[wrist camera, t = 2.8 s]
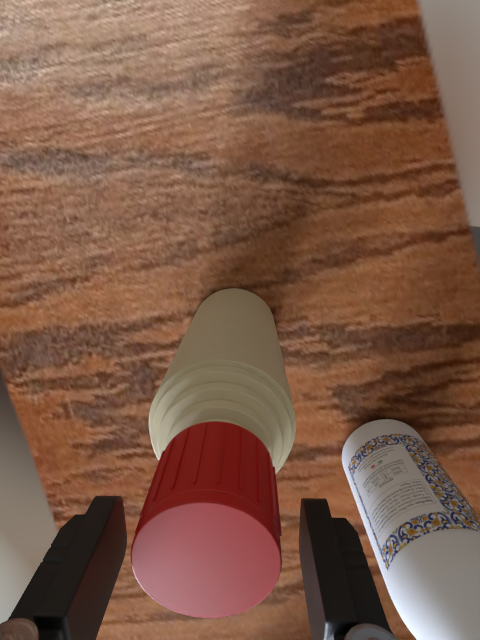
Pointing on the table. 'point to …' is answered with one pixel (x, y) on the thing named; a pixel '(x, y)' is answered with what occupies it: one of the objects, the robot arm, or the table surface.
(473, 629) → the bath foam
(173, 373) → the sauce bottle
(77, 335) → the table surface
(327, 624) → the robot arm
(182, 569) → the cap
